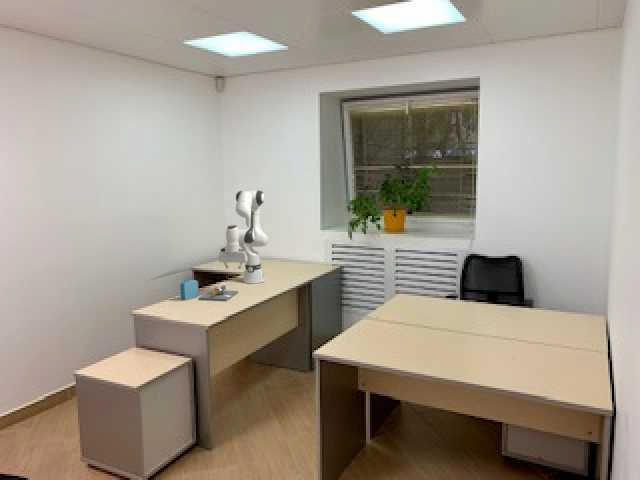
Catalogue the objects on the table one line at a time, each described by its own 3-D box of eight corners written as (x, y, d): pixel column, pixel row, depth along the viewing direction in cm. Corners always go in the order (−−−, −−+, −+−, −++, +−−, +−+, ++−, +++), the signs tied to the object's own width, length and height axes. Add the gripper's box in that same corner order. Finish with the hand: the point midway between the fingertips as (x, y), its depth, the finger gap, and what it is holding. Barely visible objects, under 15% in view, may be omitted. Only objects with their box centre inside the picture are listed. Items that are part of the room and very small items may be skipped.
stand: (212, 291, 353) (212, 288, 352) (239, 293, 348) (239, 290, 348) (198, 299, 331) (198, 296, 331) (227, 301, 327) (227, 298, 327)
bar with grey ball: (220, 290, 350) (220, 283, 349) (228, 290, 349) (228, 283, 348) (208, 297, 330) (208, 290, 330) (217, 297, 329) (216, 290, 329)
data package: (194, 295, 342) (193, 279, 340) (198, 296, 339) (198, 280, 338) (180, 299, 332) (179, 282, 330) (185, 300, 330) (184, 283, 328)
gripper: (248, 248, 339) (249, 268, 341) (221, 247, 343) (221, 267, 345) (245, 249, 333) (245, 269, 335) (217, 249, 337) (218, 268, 339)
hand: (233, 268), depth 340 cm, fingers open, 8 cm apart
